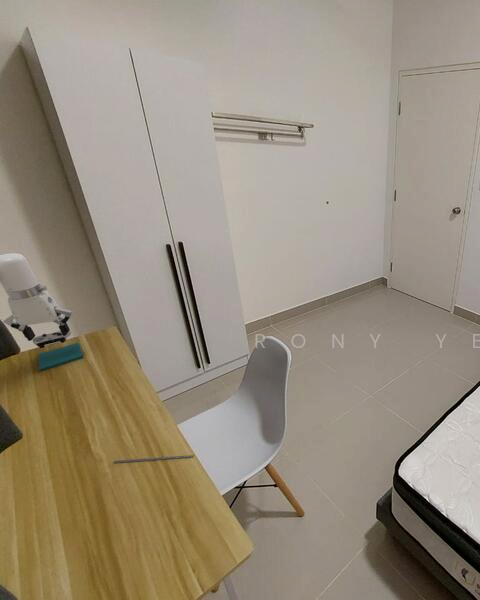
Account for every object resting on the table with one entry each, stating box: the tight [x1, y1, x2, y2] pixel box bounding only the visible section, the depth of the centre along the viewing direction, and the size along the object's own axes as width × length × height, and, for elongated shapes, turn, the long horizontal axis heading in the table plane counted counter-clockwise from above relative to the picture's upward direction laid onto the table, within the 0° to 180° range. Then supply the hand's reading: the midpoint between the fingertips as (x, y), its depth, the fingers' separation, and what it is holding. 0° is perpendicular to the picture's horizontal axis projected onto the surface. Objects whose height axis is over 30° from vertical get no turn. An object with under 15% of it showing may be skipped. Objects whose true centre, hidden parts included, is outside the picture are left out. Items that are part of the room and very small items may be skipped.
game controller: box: [32, 330, 72, 349], centre depth 114 cm, size 10×5×6 cm
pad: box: [36, 342, 84, 372], centre depth 118 cm, size 11×11×1 cm
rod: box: [112, 454, 194, 464], centre depth 85 cm, size 1×19×1 cm, turn 97°
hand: (49, 335), depth 113 cm, fingers closed on game controller, 8 cm apart
